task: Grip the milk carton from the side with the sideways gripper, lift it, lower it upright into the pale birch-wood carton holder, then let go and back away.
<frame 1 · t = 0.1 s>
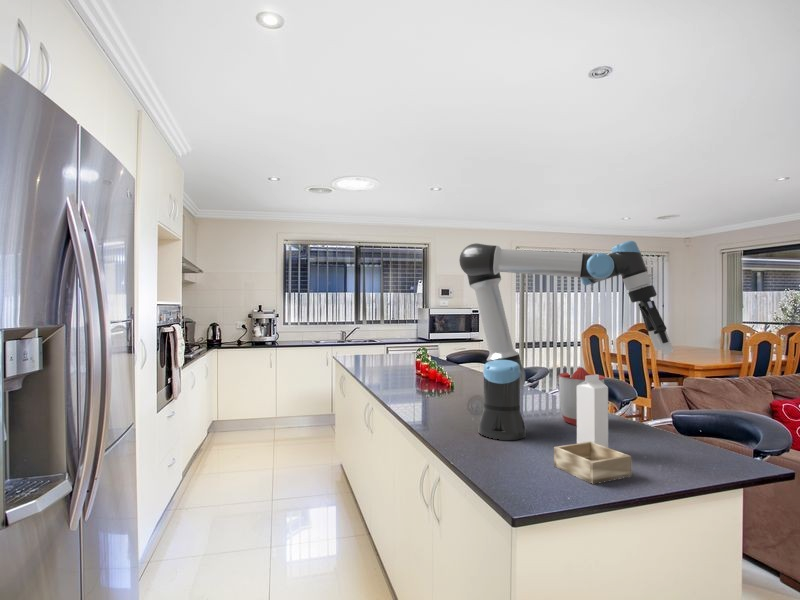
hand: (664, 351, 137), 28 cm above the countertop, tool tilted 20°, fingers open, 13 cm apart
citrus juicer: (580, 422, 158), on the countertop
carton holder: (591, 471, 109), on the countertop
milk: (592, 453, 124), on the countertop
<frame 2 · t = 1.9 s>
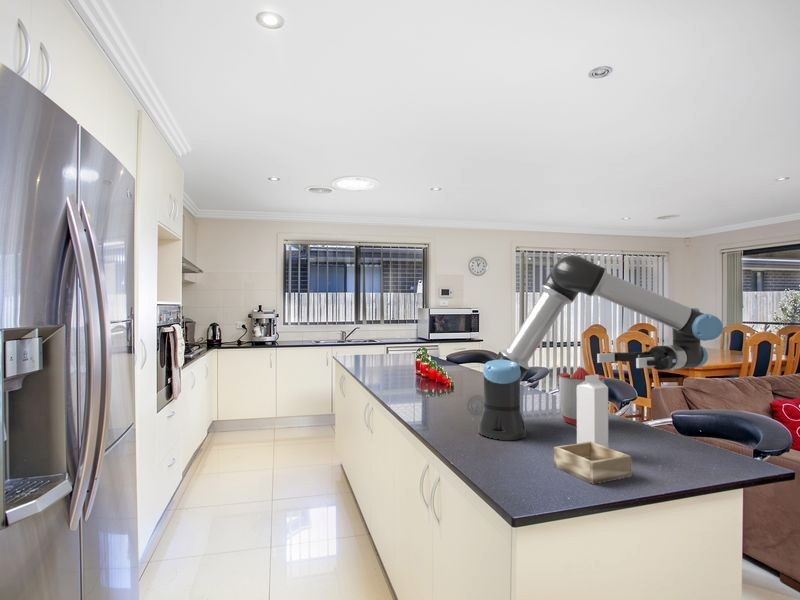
hand: (616, 360, 128), 26 cm above the countertop, tool horizontal, fingers open, 13 cm apart
nothing on the countertop moved.
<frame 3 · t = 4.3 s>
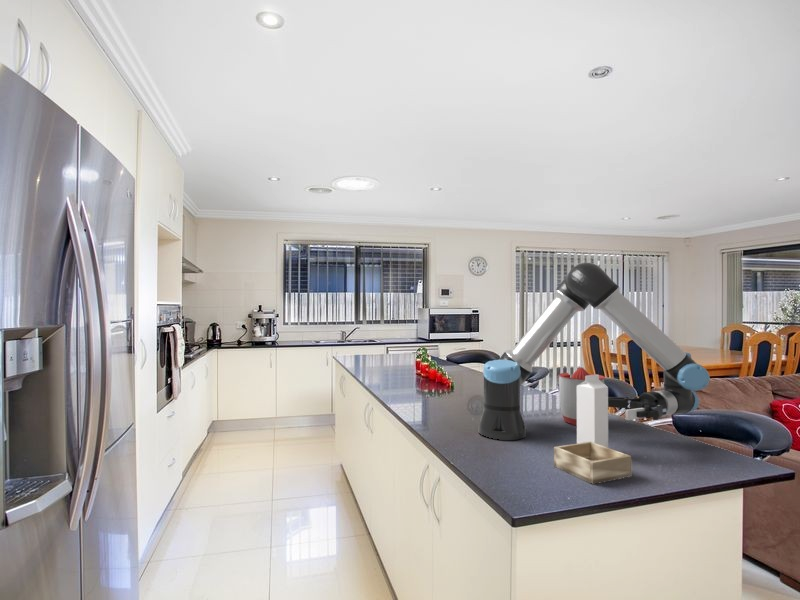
hand: (606, 409, 126), 12 cm above the countertop, tool horizontal, fingers open, 13 cm apart
nothing on the countertop moved.
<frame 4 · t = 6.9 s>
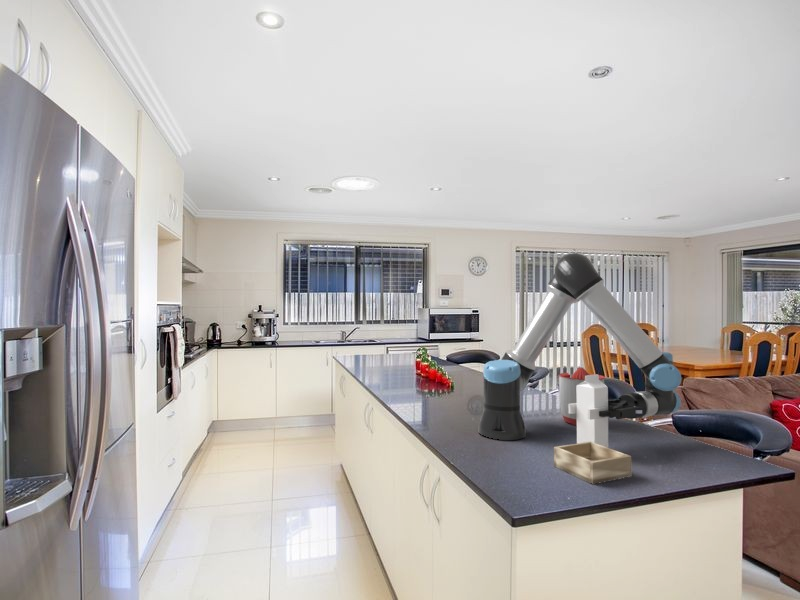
hand: (578, 411, 122), 12 cm above the countertop, tool horizontal, fingers closed on milk, 6 cm apart
milk: (592, 453, 124), on the countertop, touching gripper
everything else where it was.
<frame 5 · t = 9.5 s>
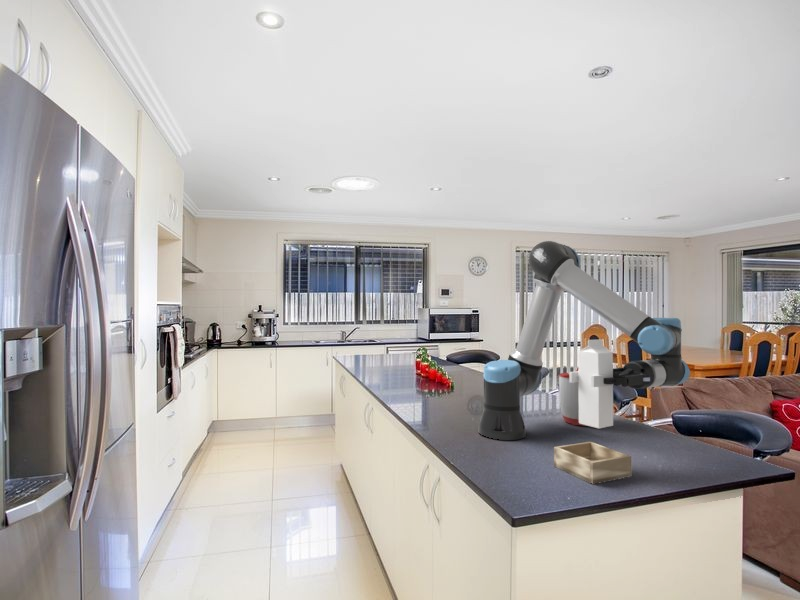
hand: (581, 379, 111), 23 cm above the countertop, tool horizontal, fingers closed on milk, 6 cm apart
milk: (595, 425, 113), point 11 cm above the countertop, touching gripper
everything else where it was.
when the fingers open (14 cm above the countertop, at t = 12.3 s): milk drops 1 cm, resting on carton holder.
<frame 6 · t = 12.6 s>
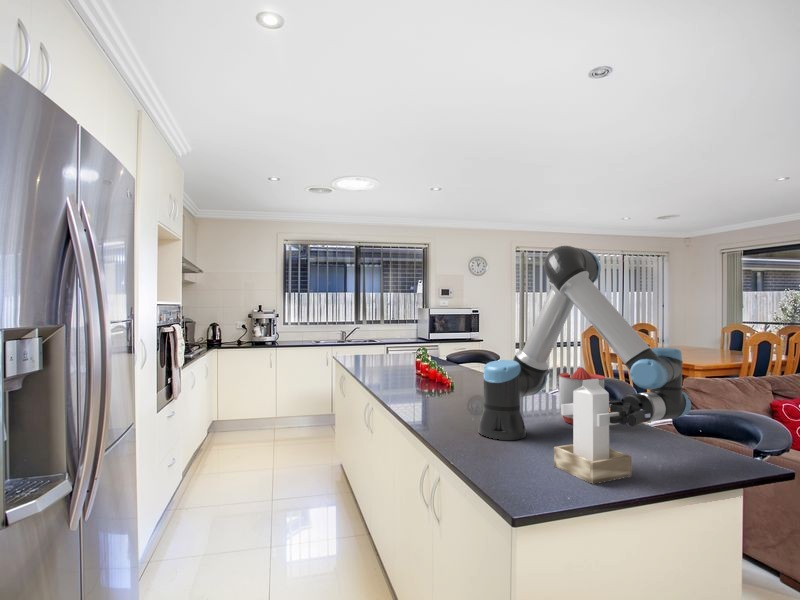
hand: (579, 414, 108), 14 cm above the countertop, tool horizontal, fingers open, 11 cm apart
milk: (591, 467, 109), point 1 cm above the countertop, touching carton holder
everything else where it was.
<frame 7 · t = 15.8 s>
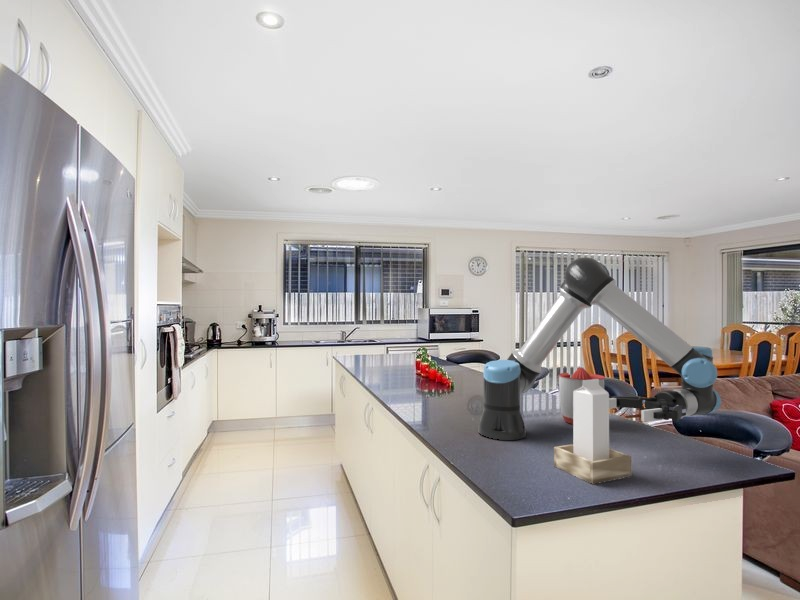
hand: (619, 410, 113), 15 cm above the countertop, tool horizontal, fingers open, 13 cm apart
nothing on the countertop moved.
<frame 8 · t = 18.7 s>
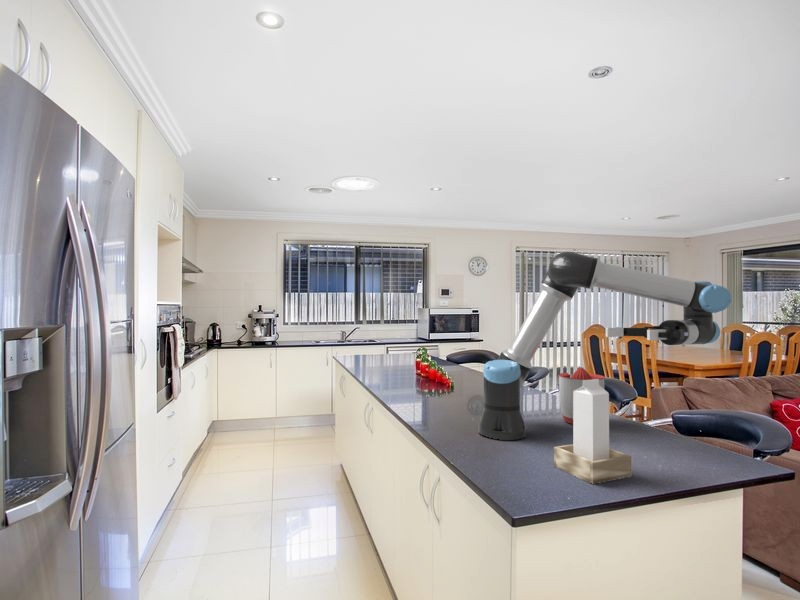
hand: (626, 333, 123), 34 cm above the countertop, tool horizontal, fingers open, 13 cm apart
nothing on the countertop moved.
at the end: milk 0.1 cm off-centre on the carton holder, point 0.8 cm above the carton holder's base; milk tilted 0°; the gripper is holding nothing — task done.
